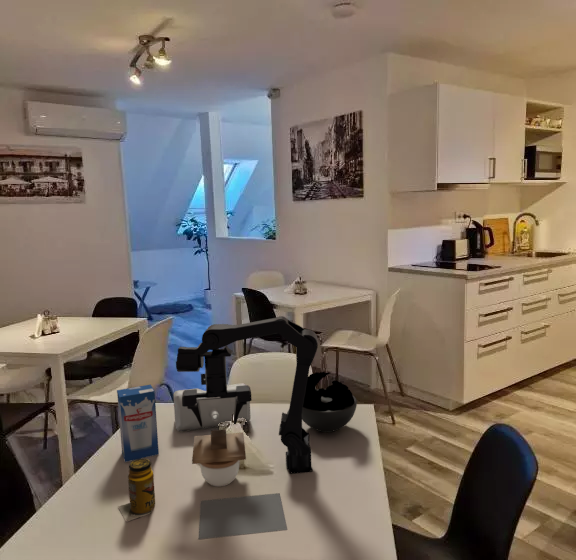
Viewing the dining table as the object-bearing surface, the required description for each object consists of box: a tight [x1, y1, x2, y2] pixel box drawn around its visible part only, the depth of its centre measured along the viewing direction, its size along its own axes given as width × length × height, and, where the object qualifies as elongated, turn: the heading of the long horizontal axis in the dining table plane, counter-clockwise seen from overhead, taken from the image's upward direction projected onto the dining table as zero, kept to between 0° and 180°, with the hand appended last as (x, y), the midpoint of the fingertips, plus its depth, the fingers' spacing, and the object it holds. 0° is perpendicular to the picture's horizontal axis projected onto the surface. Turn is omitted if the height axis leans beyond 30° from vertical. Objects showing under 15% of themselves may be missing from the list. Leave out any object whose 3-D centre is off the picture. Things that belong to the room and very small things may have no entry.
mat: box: [197, 492, 288, 540], centre depth 123 cm, size 20×15×1 cm
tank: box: [173, 382, 251, 432], centre depth 172 cm, size 25×16×12 cm, turn 105°
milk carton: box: [116, 384, 160, 463], centre depth 153 cm, size 10×6×20 cm, turn 115°
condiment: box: [117, 458, 156, 523], centre depth 126 cm, size 7×8×12 cm
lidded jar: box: [199, 460, 240, 487], centre depth 137 cm, size 11×11×9 cm
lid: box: [191, 429, 247, 465], centre depth 136 cm, size 14×14×4 cm
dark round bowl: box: [302, 371, 358, 433], centre depth 167 cm, size 20×20×19 cm
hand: (218, 424), depth 143 cm, fingers open, 9 cm apart
